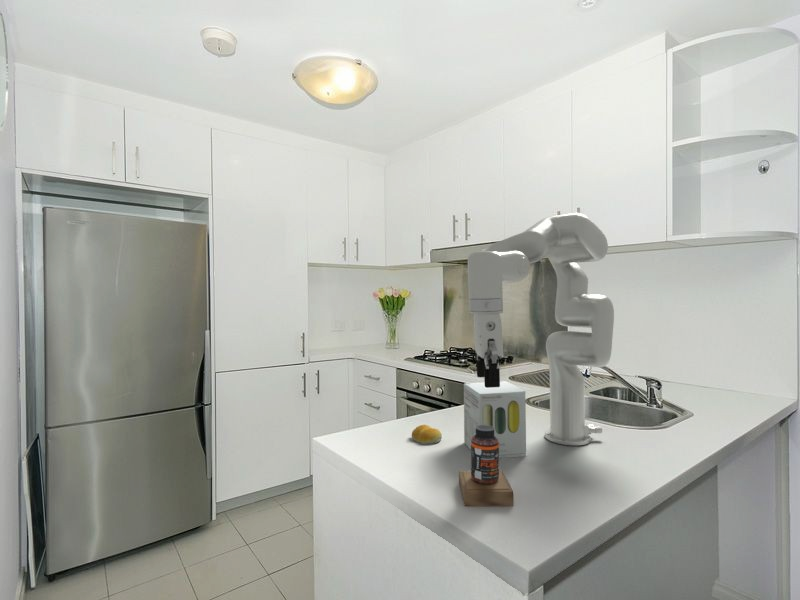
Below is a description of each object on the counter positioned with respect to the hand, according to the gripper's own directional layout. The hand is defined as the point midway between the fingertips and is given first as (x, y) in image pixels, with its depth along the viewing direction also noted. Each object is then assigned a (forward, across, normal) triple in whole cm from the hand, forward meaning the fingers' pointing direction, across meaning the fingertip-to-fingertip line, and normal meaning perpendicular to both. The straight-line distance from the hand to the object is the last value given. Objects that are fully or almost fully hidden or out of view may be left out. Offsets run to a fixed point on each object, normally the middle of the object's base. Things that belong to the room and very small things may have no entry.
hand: (487, 381), depth 97 cm
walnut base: (+23, -6, +2) cm, 24 cm away
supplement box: (+24, +20, -5) cm, 32 cm away
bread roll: (+24, +29, +13) cm, 40 cm away
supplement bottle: (+20, -5, +2) cm, 21 cm away
